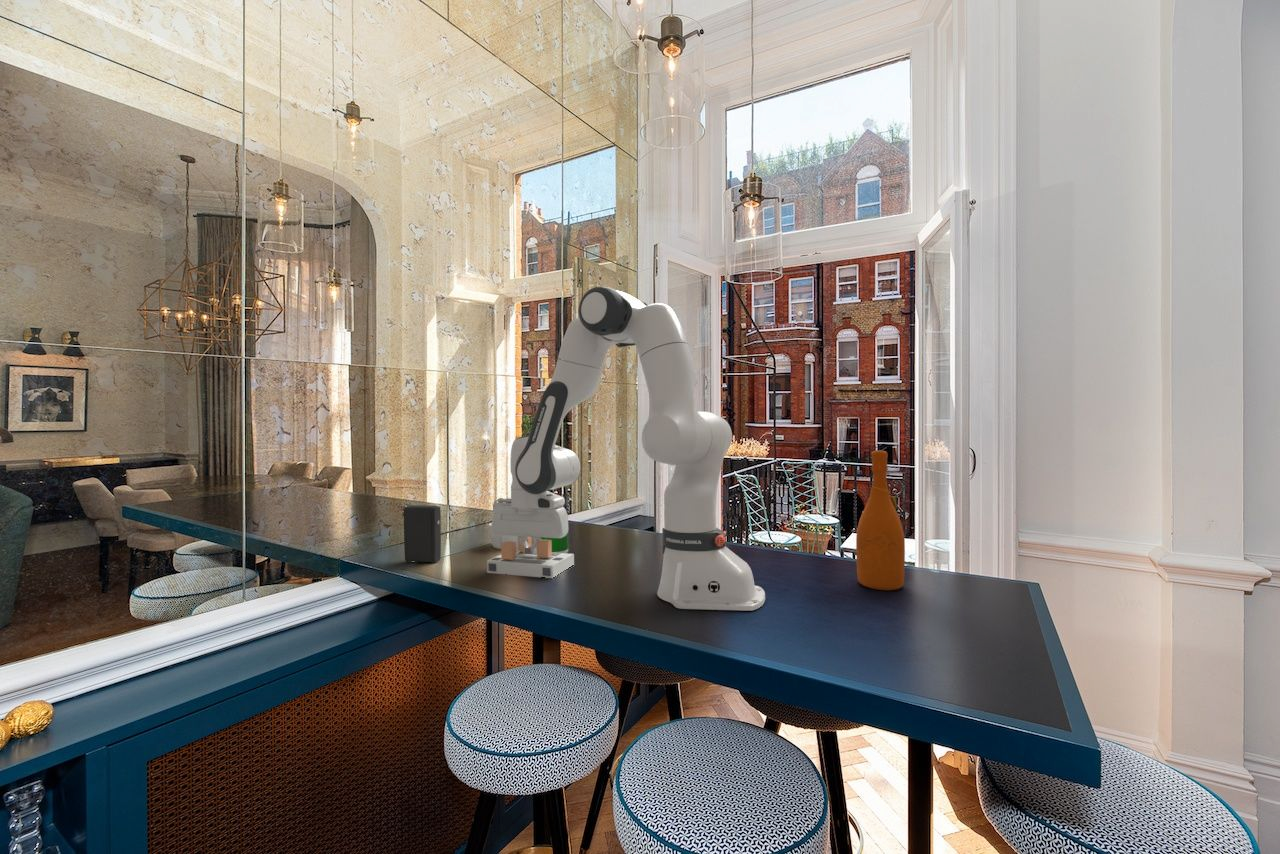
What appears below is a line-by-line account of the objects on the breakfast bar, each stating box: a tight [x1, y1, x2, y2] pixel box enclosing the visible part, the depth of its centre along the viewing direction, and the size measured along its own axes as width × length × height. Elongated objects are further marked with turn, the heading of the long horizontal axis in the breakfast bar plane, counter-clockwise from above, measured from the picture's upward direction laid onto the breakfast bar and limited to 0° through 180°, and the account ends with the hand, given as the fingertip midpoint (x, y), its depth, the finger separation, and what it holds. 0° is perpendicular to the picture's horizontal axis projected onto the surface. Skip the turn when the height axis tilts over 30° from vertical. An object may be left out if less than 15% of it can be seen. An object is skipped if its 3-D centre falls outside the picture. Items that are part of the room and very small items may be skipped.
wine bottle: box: [855, 449, 906, 591], centre depth 120 cm, size 10×10×30 cm
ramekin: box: [488, 522, 518, 550], centre depth 164 cm, size 13×13×7 cm
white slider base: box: [486, 549, 575, 579], centre depth 137 cm, size 18×12×3 cm
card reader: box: [403, 504, 442, 563], centre depth 146 cm, size 9×4×15 cm, turn 82°
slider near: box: [500, 541, 517, 560], centre depth 134 cm, size 3×2×4 cm, turn 72°
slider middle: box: [536, 539, 552, 558], centre depth 136 cm, size 3×2×4 cm, turn 72°
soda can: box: [540, 514, 569, 553], centre depth 151 cm, size 8×8×12 cm
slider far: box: [517, 536, 533, 552], centre depth 142 cm, size 3×2×4 cm, turn 72°
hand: (529, 553), depth 137 cm, fingers closed
